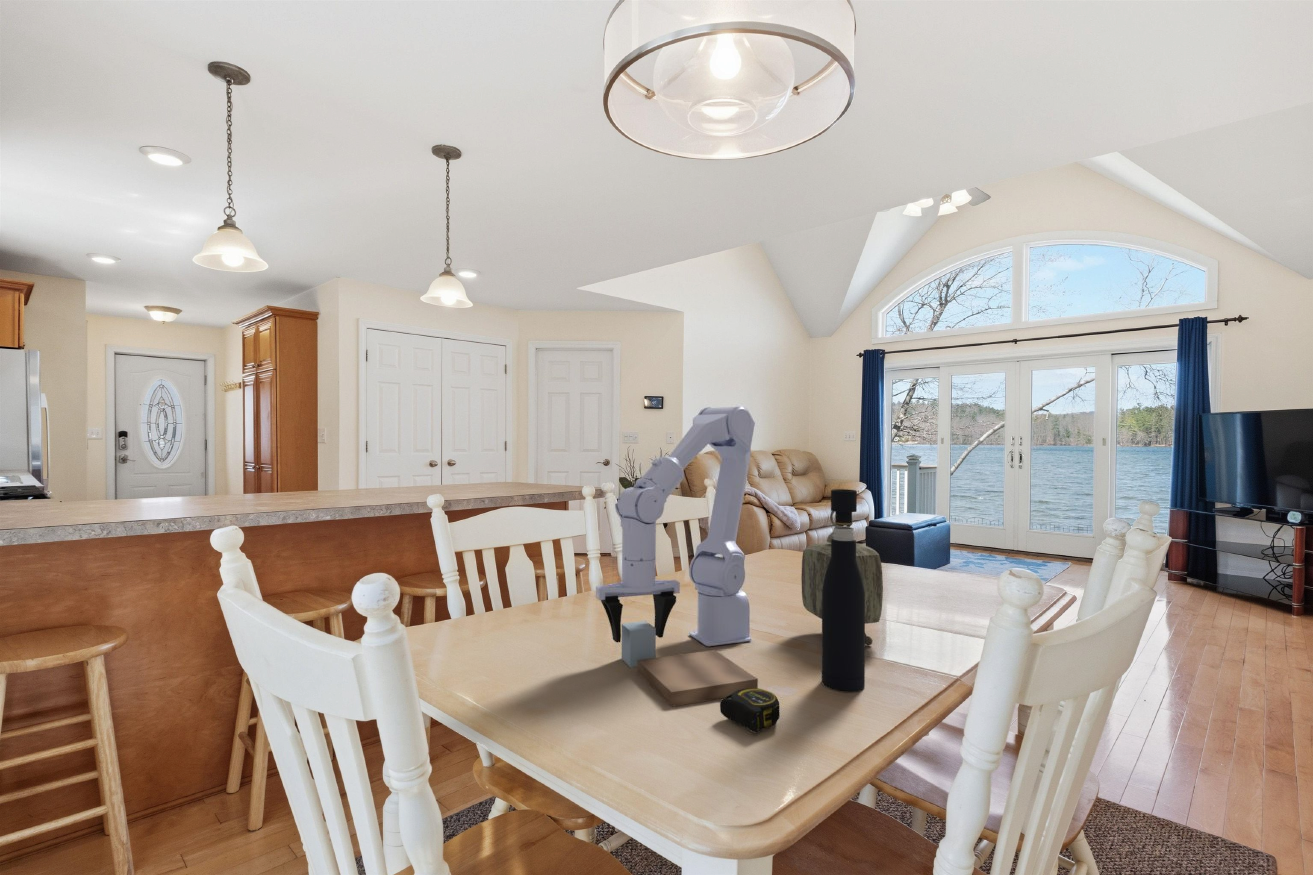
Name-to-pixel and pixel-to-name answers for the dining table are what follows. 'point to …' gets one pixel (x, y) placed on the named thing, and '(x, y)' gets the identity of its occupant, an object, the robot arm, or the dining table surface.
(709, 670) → the walnut base
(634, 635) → the slate block
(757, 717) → the tape measure
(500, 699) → the dining table surface
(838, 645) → the wine bottle
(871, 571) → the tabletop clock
